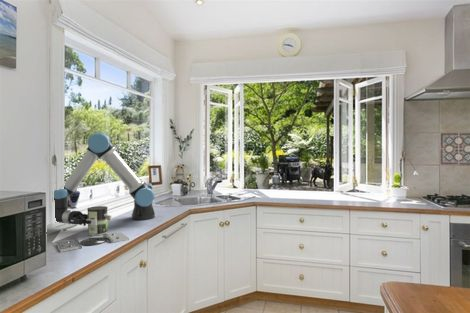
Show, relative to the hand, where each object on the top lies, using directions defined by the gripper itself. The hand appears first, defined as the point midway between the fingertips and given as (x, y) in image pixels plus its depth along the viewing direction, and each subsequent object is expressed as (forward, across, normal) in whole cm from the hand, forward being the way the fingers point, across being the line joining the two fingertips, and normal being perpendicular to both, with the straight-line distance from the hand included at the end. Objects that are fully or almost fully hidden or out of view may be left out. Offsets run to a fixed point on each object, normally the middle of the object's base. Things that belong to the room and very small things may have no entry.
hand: (103, 220), depth 172 cm
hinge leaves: (+6, +14, -8) cm, 17 cm away
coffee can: (-4, 0, -8) cm, 9 cm away
